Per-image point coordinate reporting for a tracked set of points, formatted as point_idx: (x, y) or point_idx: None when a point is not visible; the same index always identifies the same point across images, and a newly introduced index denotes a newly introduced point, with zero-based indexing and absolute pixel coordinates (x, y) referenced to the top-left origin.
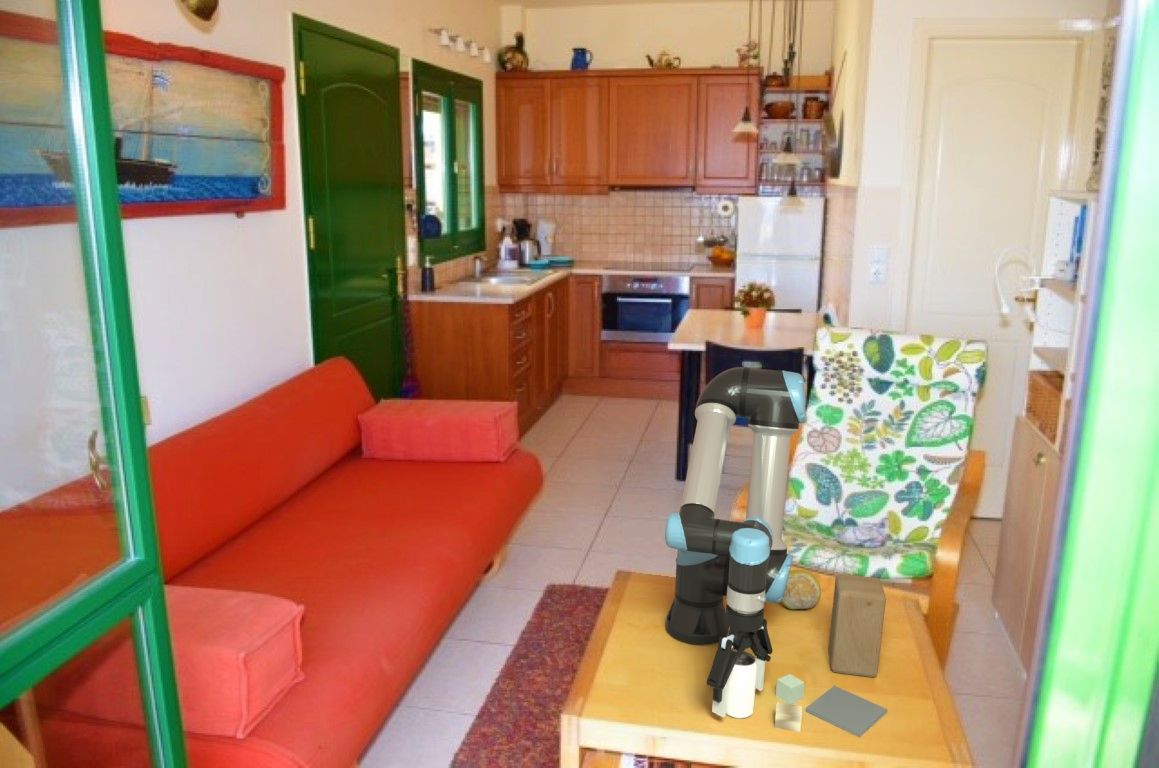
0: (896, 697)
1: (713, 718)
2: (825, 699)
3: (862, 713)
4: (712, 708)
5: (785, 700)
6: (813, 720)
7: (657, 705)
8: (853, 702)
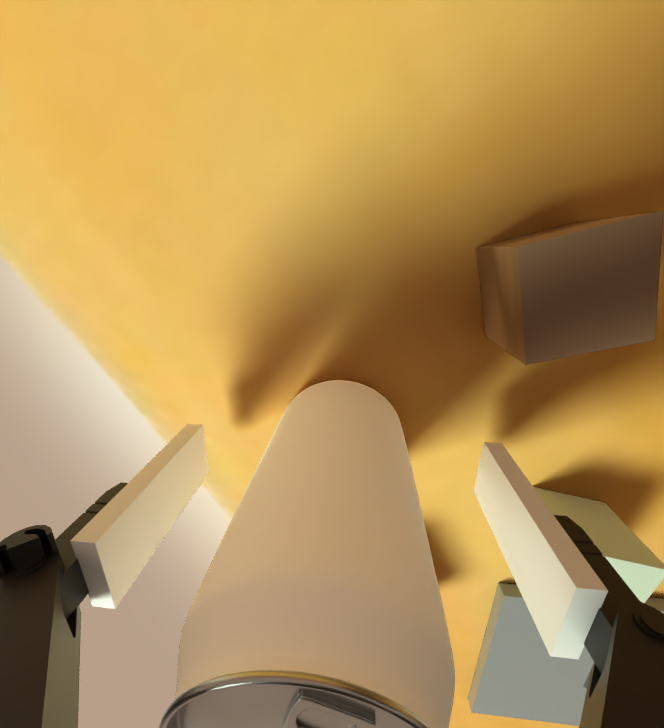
0: None
1: (232, 396)
2: None
3: (581, 701)
4: (179, 432)
5: None
6: (464, 609)
7: (103, 165)
8: None
